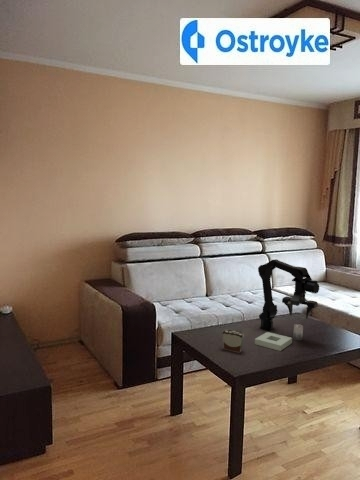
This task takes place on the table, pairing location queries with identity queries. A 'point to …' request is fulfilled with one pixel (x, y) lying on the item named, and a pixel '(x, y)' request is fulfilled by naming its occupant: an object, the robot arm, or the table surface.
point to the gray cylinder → (298, 332)
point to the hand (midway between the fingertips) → (298, 316)
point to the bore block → (273, 341)
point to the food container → (232, 340)
